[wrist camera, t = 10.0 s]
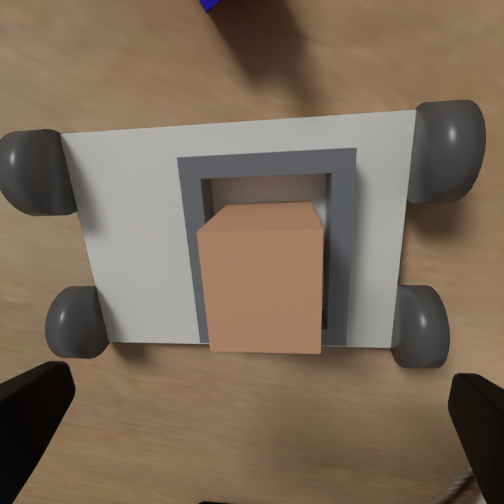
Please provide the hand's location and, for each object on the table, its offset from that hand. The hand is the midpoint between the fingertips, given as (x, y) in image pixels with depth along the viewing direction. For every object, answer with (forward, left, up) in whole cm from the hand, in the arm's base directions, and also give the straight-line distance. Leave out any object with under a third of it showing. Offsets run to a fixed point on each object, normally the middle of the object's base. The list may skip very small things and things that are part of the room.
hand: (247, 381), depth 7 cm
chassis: (0, +2, -12) cm, 12 cm away
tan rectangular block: (0, 0, -10) cm, 10 cm away
